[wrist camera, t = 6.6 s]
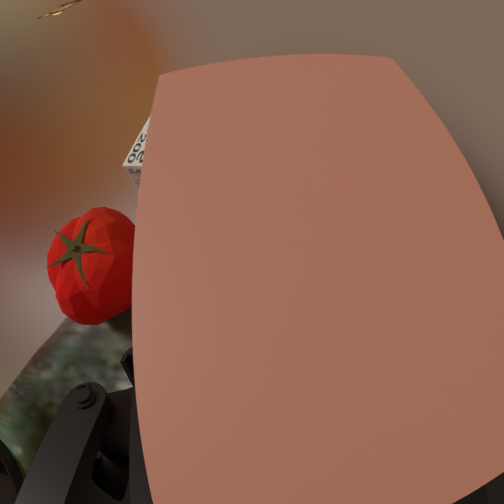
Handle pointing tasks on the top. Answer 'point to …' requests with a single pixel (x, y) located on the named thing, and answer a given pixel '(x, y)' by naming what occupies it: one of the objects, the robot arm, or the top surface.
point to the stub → (313, 291)
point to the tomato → (93, 266)
